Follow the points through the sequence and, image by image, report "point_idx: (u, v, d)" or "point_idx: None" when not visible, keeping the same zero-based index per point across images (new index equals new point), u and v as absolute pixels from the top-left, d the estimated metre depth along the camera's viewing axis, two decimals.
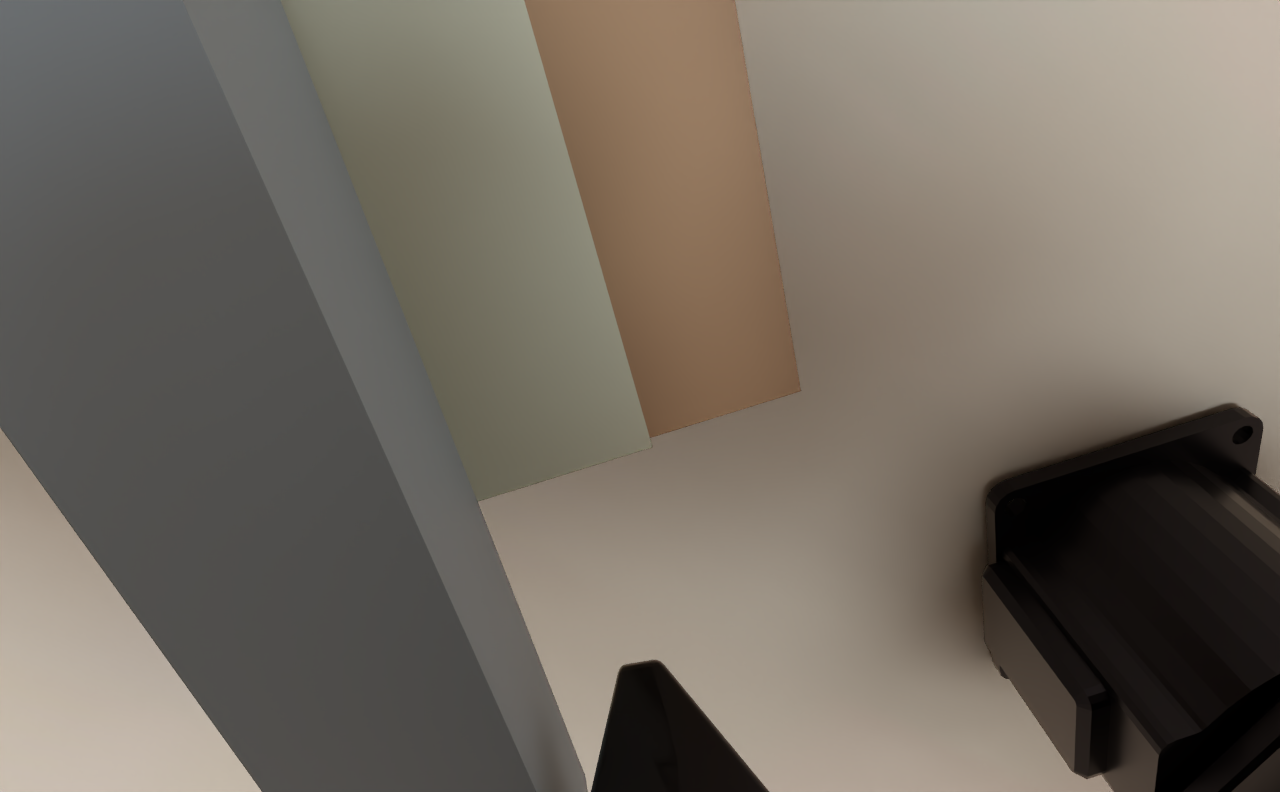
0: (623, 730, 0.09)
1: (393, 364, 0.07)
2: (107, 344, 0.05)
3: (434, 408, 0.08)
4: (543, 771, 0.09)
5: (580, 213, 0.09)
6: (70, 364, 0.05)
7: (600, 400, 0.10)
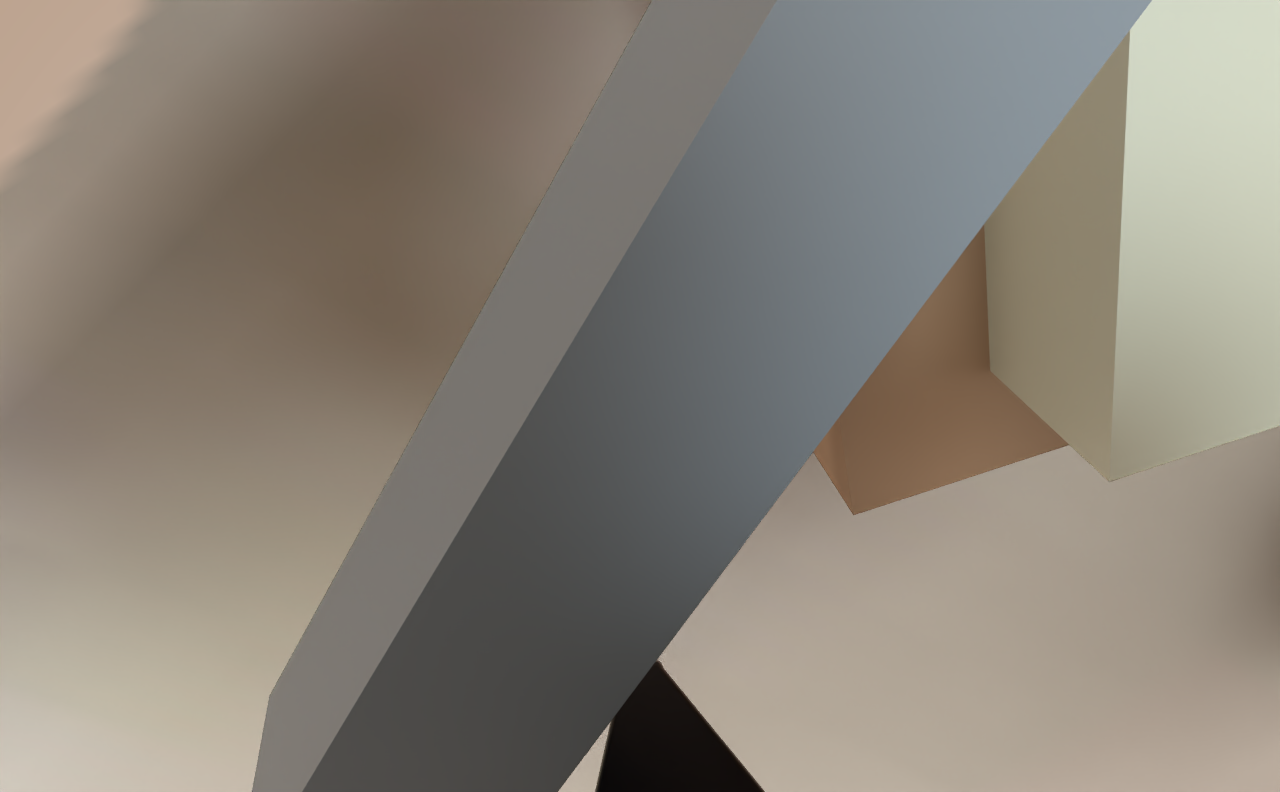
0: (627, 729, 0.09)
1: None
2: (865, 103, 0.05)
3: None
4: None
5: None
6: (829, 92, 0.05)
7: None
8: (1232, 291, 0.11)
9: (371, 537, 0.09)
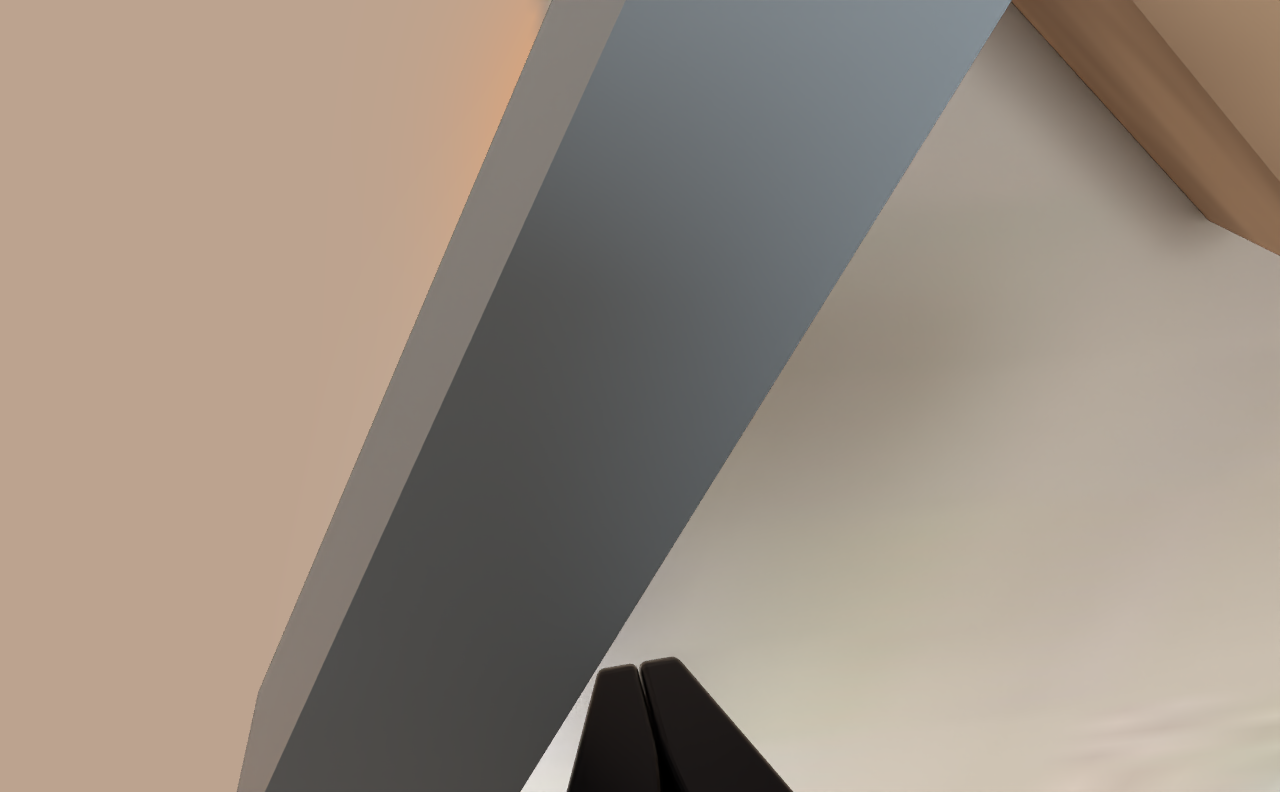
0: (599, 734, 0.09)
1: None
2: (761, 49, 0.05)
3: None
4: None
5: None
6: (719, 39, 0.05)
7: None
8: None
9: (335, 530, 0.09)
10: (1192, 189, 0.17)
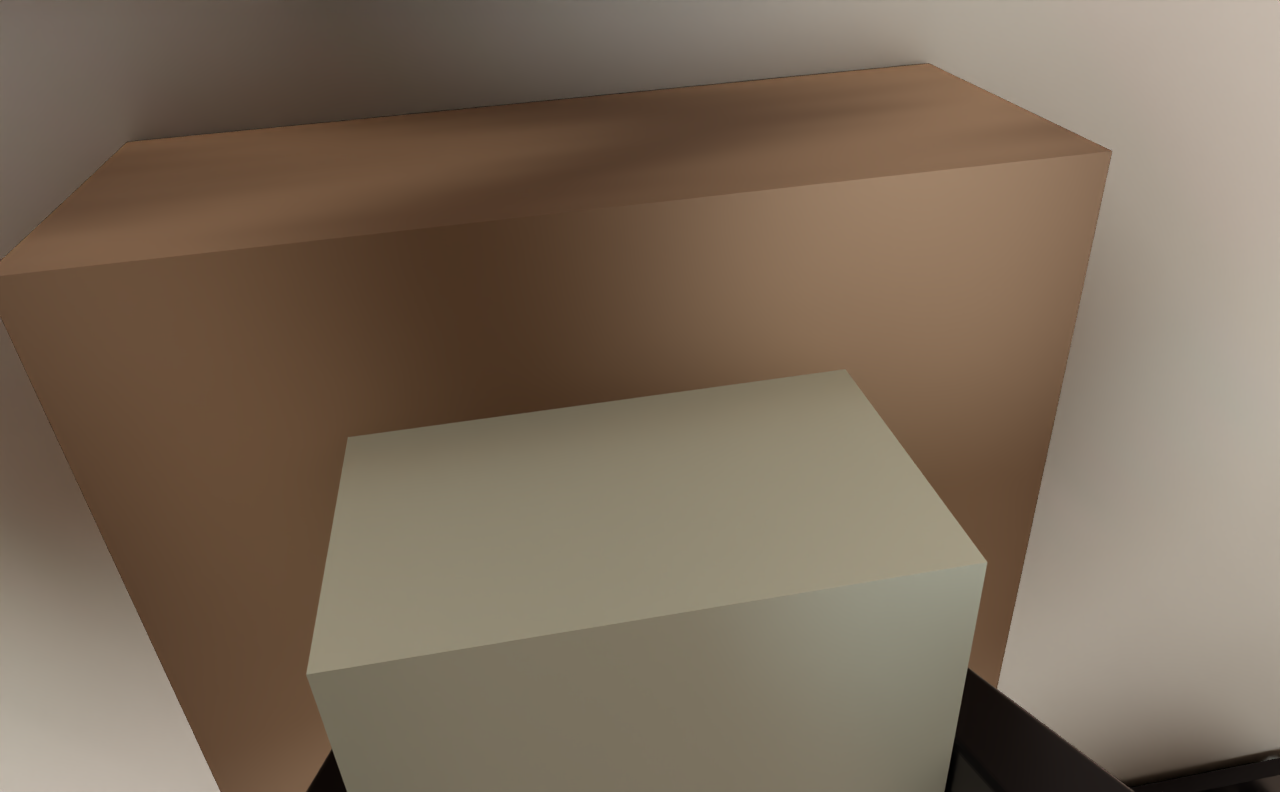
0: (326, 783, 0.08)
1: None
2: None
3: None
4: None
5: None
6: None
7: None
8: None
9: None
10: None
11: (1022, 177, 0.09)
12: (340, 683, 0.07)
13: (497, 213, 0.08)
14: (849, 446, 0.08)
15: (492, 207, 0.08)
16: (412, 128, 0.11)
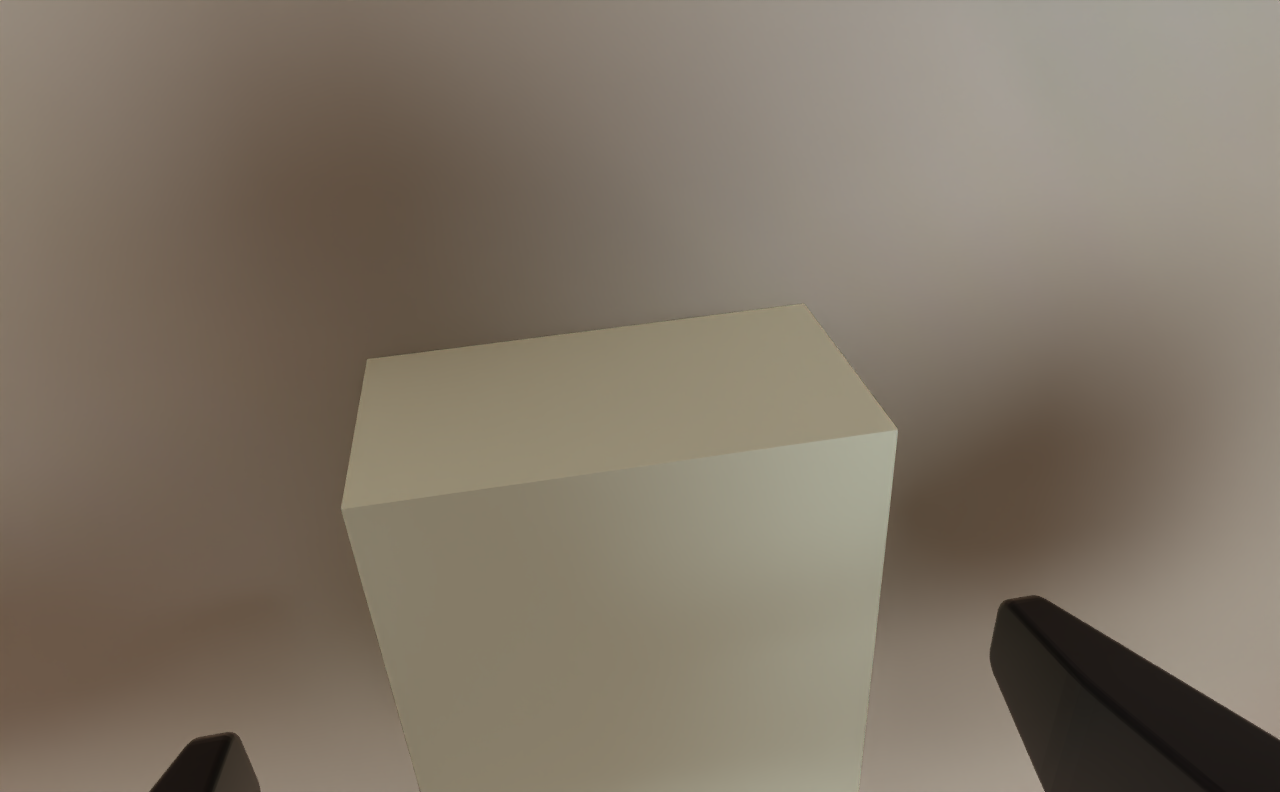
0: None
1: None
2: None
3: None
4: None
5: (868, 670, 0.10)
6: None
7: None
8: (553, 758, 0.10)
9: None
10: None
11: None
12: (368, 519, 0.08)
13: None
14: (794, 350, 0.10)
15: None
16: None
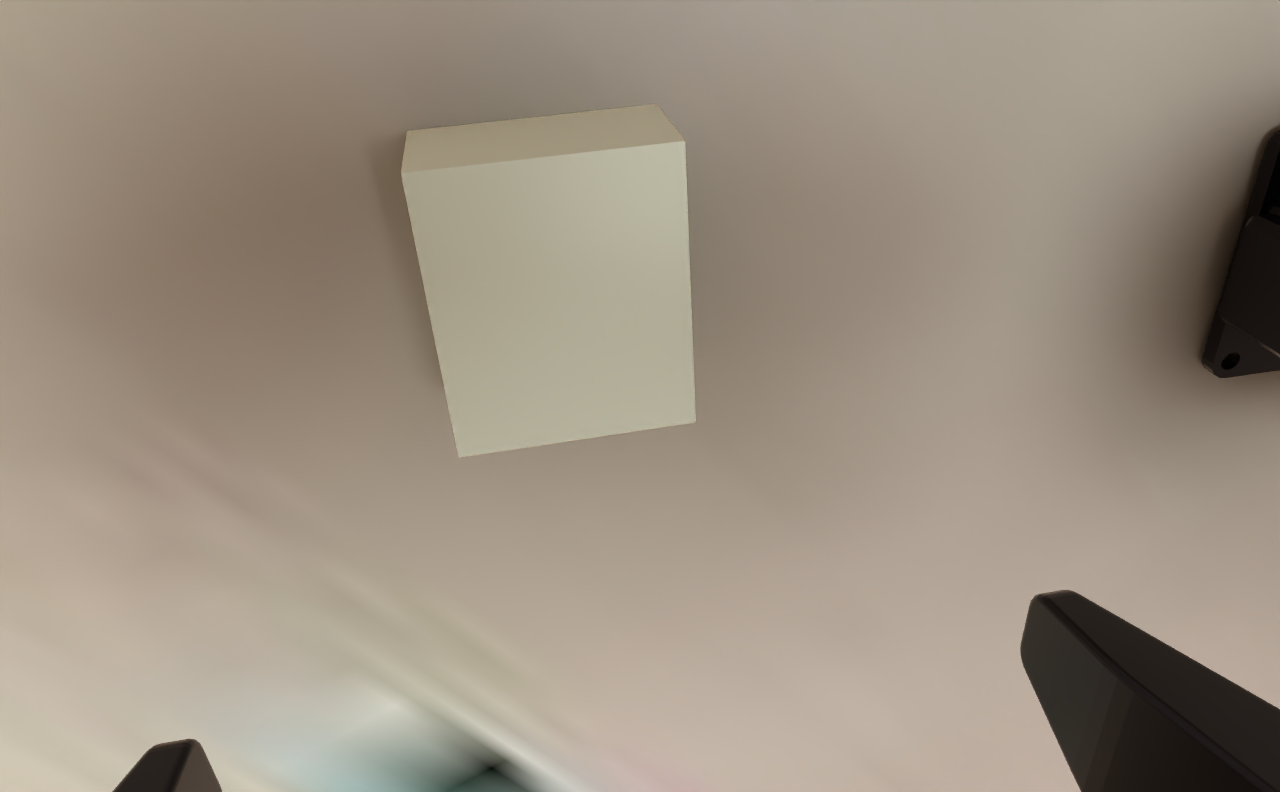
0: None
1: None
2: None
3: None
4: None
5: (689, 300, 0.18)
6: None
7: (676, 393, 0.19)
8: (513, 349, 0.18)
9: None
10: None
11: None
12: (414, 180, 0.16)
13: None
14: (644, 119, 0.18)
15: None
16: None
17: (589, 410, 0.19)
